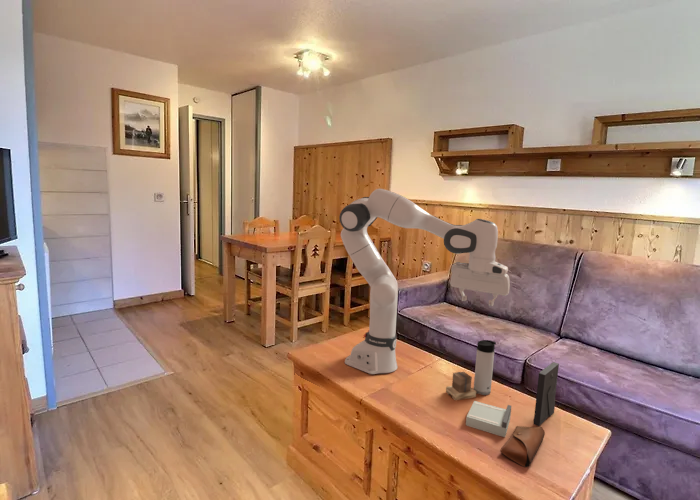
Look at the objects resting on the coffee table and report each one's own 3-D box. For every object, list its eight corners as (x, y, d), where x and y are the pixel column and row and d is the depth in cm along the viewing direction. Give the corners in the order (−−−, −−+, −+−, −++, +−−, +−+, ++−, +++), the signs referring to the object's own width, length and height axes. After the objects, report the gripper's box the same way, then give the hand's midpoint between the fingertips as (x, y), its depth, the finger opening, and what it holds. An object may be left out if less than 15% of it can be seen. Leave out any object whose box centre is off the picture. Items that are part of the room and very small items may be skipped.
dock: (465, 425, 127) (466, 411, 127) (473, 408, 138) (474, 395, 137) (505, 437, 122) (506, 422, 121) (510, 419, 132) (511, 405, 131)
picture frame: (547, 409, 139) (553, 361, 137) (554, 412, 137) (560, 364, 135) (533, 424, 130) (538, 372, 127) (540, 426, 128) (546, 375, 126)
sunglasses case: (515, 424, 126) (530, 413, 123) (533, 443, 124) (548, 432, 120) (498, 451, 112) (514, 440, 109) (517, 474, 109) (534, 463, 106)
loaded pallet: (454, 400, 143) (456, 379, 142) (445, 392, 149) (447, 372, 148) (475, 397, 146) (477, 377, 145) (466, 389, 152) (467, 370, 151)
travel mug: (492, 396, 147) (497, 345, 144) (474, 394, 148) (478, 343, 146) (490, 388, 153) (494, 339, 150) (472, 386, 154) (476, 337, 152)
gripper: (450, 262, 142) (446, 299, 144) (510, 270, 132) (505, 310, 134) (454, 260, 147) (450, 296, 149) (512, 268, 137) (508, 306, 139)
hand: (477, 303), depth 141 cm, fingers open, 8 cm apart
